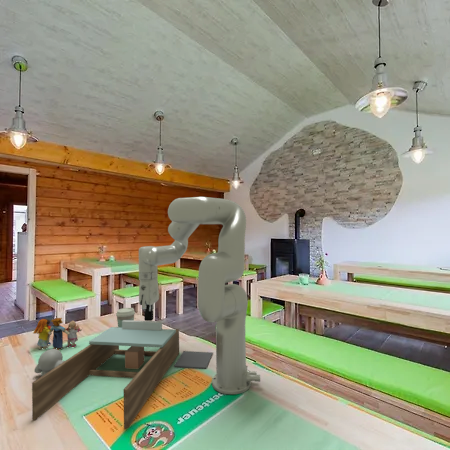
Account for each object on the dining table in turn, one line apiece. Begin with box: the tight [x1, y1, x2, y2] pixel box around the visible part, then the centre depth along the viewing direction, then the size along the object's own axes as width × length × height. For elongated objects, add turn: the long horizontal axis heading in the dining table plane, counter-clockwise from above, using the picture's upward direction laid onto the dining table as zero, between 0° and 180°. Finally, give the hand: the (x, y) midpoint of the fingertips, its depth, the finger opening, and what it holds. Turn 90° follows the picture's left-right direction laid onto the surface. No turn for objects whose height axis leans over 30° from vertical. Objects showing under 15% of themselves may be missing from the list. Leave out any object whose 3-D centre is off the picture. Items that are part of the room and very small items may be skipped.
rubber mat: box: [173, 350, 213, 370], centre depth 105 cm, size 12×12×1 cm
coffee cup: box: [115, 307, 136, 328], centre depth 131 cm, size 8×8×12 cm
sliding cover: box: [88, 319, 176, 349], centre depth 102 cm, size 27×14×4 cm, turn 82°
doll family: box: [32, 317, 82, 351], centre depth 118 cm, size 21×10×13 cm, turn 80°
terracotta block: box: [124, 346, 145, 370], centre depth 102 cm, size 5×5×6 cm
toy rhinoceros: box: [34, 348, 65, 377], centre depth 96 cm, size 7×12×8 cm, turn 72°
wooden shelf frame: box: [31, 328, 180, 429], centre depth 92 cm, size 27×42×10 cm, turn 172°
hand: (148, 320), depth 115 cm, fingers closed
